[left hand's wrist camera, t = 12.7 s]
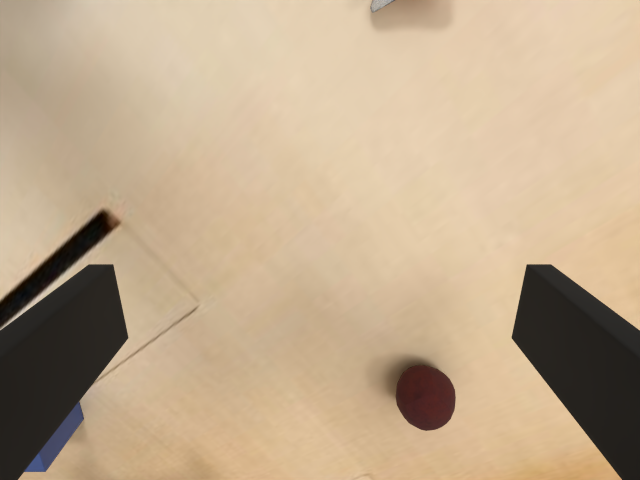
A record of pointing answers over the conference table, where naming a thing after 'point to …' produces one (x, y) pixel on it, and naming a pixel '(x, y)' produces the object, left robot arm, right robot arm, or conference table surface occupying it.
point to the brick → (56, 441)
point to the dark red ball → (425, 397)
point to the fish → (379, 4)
